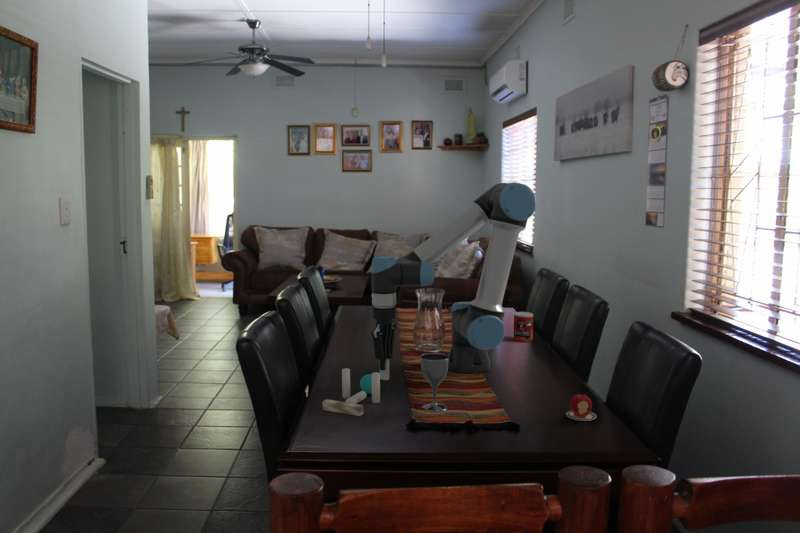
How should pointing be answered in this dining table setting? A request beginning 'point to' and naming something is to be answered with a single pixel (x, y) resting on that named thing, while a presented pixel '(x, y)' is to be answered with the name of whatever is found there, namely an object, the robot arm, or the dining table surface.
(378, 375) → the near back pin
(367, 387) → the ball
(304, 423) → the dining table surface
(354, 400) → the front pin
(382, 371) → the robot arm
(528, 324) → the canned food
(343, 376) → the far back pin
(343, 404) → the backstop
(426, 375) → the wine glass
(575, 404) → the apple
